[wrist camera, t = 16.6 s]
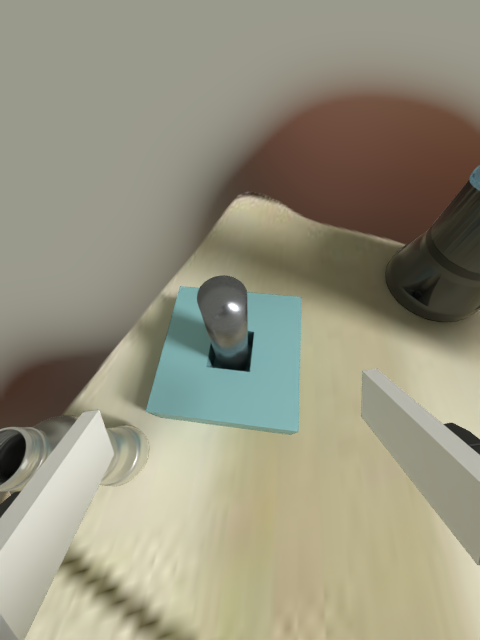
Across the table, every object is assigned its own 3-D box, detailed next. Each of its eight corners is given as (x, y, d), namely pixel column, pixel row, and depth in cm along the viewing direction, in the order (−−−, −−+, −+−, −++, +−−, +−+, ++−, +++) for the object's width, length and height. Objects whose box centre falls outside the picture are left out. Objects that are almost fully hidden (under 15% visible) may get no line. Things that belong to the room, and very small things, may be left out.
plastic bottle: (164, 443, 35) (74, 435, 17) (130, 495, 32) (-18, 550, 14) (127, 417, 36) (11, 385, 19) (93, 465, 34) (-81, 480, 16)
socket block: (294, 316, 43) (301, 297, 37) (290, 434, 35) (298, 431, 29) (188, 306, 44) (180, 286, 39) (160, 417, 36) (145, 411, 31)
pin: (249, 348, 39) (250, 277, 23) (246, 377, 37) (244, 321, 21) (220, 345, 40) (202, 273, 24) (216, 373, 38) (192, 316, 22)
